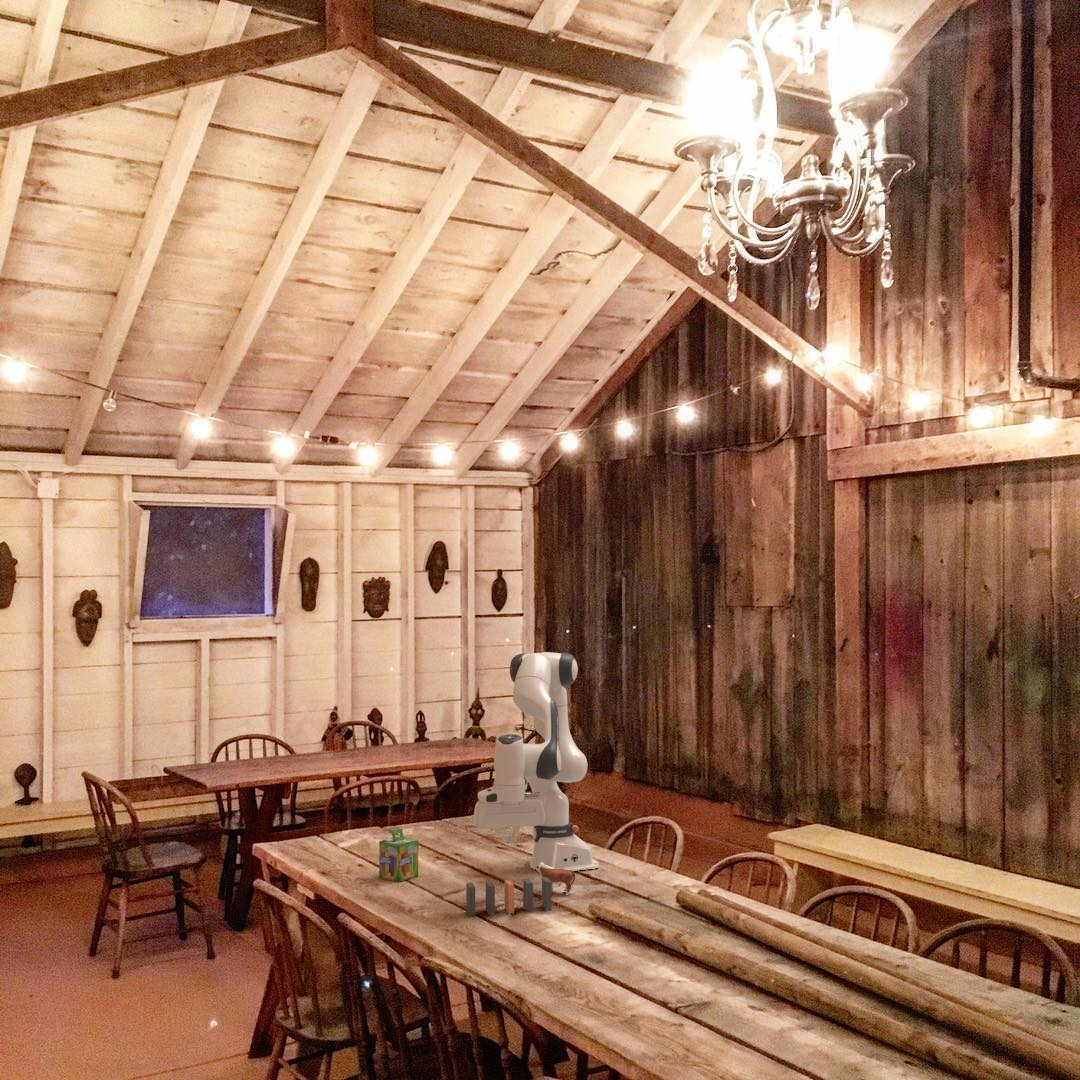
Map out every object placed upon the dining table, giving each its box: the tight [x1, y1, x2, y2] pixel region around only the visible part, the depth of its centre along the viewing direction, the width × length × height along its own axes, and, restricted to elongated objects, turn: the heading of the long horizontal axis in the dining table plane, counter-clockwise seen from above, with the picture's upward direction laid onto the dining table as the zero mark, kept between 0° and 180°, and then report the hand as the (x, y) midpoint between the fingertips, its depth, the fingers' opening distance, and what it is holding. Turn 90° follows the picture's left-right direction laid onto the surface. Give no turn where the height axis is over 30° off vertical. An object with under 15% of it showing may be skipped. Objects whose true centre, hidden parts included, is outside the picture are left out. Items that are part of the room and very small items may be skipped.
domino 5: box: [541, 877, 553, 911], centre depth 309 cm, size 2×5×8 cm, turn 15°
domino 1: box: [465, 882, 476, 918], centre depth 304 cm, size 2×5×8 cm, turn 15°
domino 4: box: [522, 878, 534, 913], centre depth 308 cm, size 2×5×8 cm, turn 15°
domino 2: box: [484, 881, 496, 916], centre depth 305 cm, size 2×5×8 cm, turn 15°
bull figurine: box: [536, 862, 576, 895], centre depth 326 cm, size 4×13×8 cm, turn 59°
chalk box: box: [378, 828, 420, 883], centre depth 342 cm, size 9×9×15 cm
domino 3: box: [504, 879, 515, 914], centre depth 307 cm, size 2×5×8 cm, turn 15°
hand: (509, 842), depth 307 cm, fingers closed
